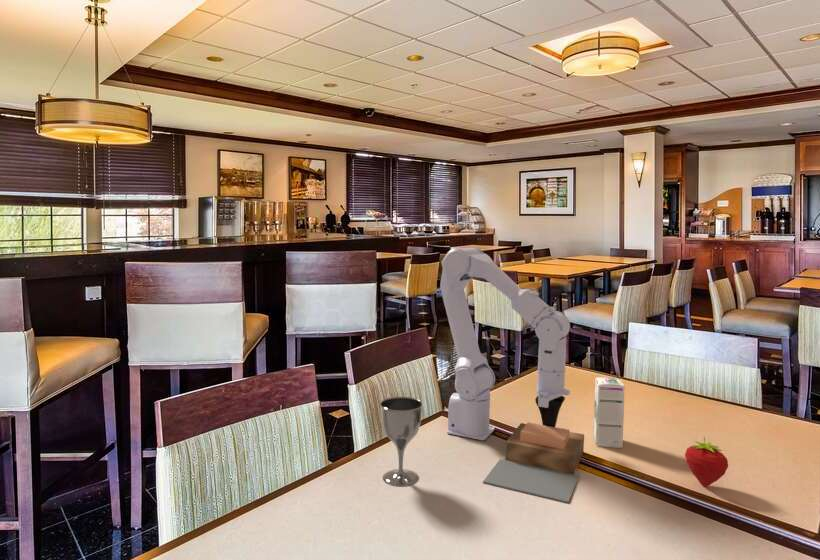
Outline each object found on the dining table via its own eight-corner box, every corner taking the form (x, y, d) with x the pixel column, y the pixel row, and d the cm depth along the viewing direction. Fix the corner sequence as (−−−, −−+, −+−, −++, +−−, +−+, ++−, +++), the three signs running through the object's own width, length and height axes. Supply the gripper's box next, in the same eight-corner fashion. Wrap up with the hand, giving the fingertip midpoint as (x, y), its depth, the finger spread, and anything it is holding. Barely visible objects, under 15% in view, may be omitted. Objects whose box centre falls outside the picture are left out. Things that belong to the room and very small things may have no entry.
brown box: (505, 460, 111) (505, 442, 111) (520, 439, 122) (521, 423, 122) (573, 475, 105) (574, 455, 105) (583, 452, 116) (584, 434, 115)
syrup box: (623, 448, 118) (626, 385, 116) (595, 446, 119) (598, 383, 117) (618, 438, 123) (621, 378, 122) (591, 436, 125) (594, 376, 123)
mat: (483, 482, 102) (483, 481, 102) (500, 460, 111) (500, 458, 111) (568, 503, 95) (568, 501, 95) (578, 477, 104) (578, 475, 104)
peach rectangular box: (520, 440, 112) (520, 431, 111) (527, 431, 117) (527, 422, 117) (563, 449, 108) (564, 440, 107) (569, 438, 113) (569, 429, 113)
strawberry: (716, 499, 96) (720, 446, 95) (676, 482, 103) (679, 432, 102) (732, 490, 100) (736, 439, 99) (693, 474, 106) (696, 426, 105)
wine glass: (391, 491, 98) (391, 413, 97) (373, 473, 105) (374, 400, 104) (428, 481, 102) (429, 406, 100) (409, 465, 109) (410, 394, 107)
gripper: (564, 380, 106) (561, 445, 108) (576, 363, 119) (573, 421, 120) (529, 375, 109) (526, 438, 111) (544, 359, 122) (542, 416, 124)
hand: (549, 429), depth 116 cm, fingers closed
